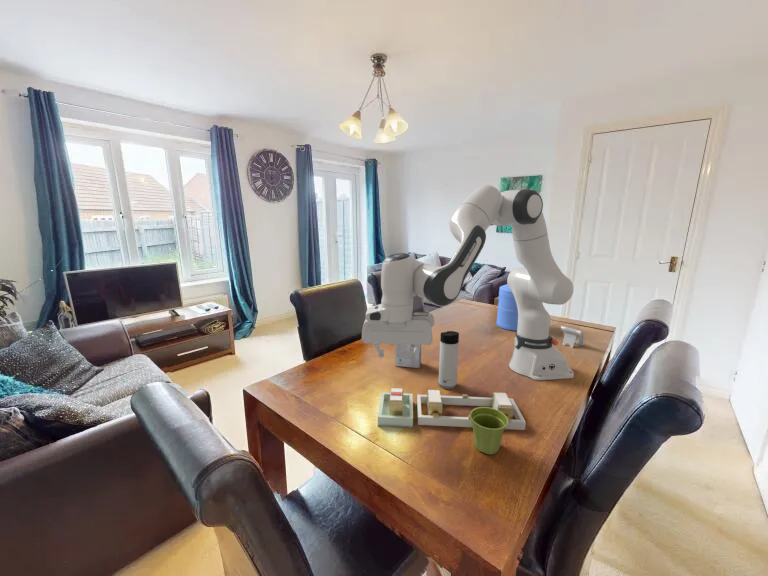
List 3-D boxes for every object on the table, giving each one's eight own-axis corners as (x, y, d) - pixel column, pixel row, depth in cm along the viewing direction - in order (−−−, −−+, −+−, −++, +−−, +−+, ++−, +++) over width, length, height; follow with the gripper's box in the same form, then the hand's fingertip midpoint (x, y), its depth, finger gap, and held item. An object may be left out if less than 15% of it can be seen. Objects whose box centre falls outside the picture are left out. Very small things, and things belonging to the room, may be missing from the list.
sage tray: (412, 401, 105) (412, 393, 104) (412, 428, 92) (412, 418, 92) (381, 400, 106) (381, 392, 105) (377, 426, 93) (377, 417, 92)
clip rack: (512, 405, 103) (513, 396, 102) (525, 430, 91) (526, 419, 91) (417, 401, 105) (417, 392, 105) (417, 424, 94) (418, 414, 93)
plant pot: (461, 437, 89) (463, 409, 87) (492, 432, 91) (495, 404, 89) (479, 462, 80) (481, 431, 78) (512, 456, 82) (516, 426, 80)
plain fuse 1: (439, 405, 103) (439, 388, 102) (441, 422, 95) (442, 404, 94) (426, 405, 103) (427, 388, 102) (428, 421, 95) (428, 403, 94)
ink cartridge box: (421, 362, 133) (422, 328, 129) (419, 368, 127) (420, 333, 124) (397, 360, 134) (397, 327, 131) (394, 366, 129) (395, 332, 126)
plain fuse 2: (503, 408, 102) (505, 391, 100) (511, 425, 93) (513, 407, 92) (491, 408, 102) (492, 390, 100) (498, 425, 94) (499, 406, 92)
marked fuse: (402, 404, 103) (403, 386, 101) (402, 420, 95) (402, 401, 93) (390, 403, 103) (390, 385, 102) (389, 420, 95) (389, 400, 94)
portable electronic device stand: (584, 345, 149) (587, 328, 147) (577, 349, 145) (579, 332, 143) (565, 339, 156) (567, 323, 154) (557, 343, 151) (559, 326, 149)
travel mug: (446, 391, 111) (449, 336, 106) (434, 382, 117) (436, 330, 112) (460, 387, 114) (463, 333, 109) (448, 378, 119) (451, 327, 115)
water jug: (532, 331, 166) (538, 277, 160) (501, 331, 167) (506, 277, 160) (520, 321, 182) (525, 272, 175) (492, 321, 182) (496, 272, 175)
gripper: (433, 308, 94) (432, 353, 97) (363, 307, 95) (364, 351, 99) (435, 315, 88) (433, 362, 91) (360, 314, 89) (361, 361, 93)
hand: (397, 356), depth 95 cm, fingers open, 8 cm apart
